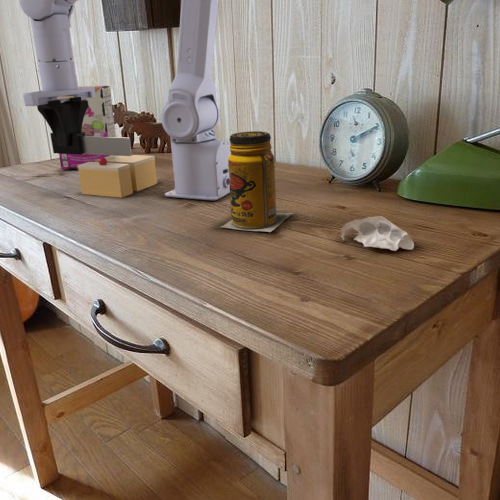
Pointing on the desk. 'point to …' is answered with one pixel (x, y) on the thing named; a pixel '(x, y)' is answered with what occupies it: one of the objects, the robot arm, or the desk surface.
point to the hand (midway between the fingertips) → (69, 144)
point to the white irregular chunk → (378, 233)
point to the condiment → (252, 183)
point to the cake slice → (105, 178)
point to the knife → (93, 145)
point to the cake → (137, 169)
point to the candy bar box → (93, 125)
